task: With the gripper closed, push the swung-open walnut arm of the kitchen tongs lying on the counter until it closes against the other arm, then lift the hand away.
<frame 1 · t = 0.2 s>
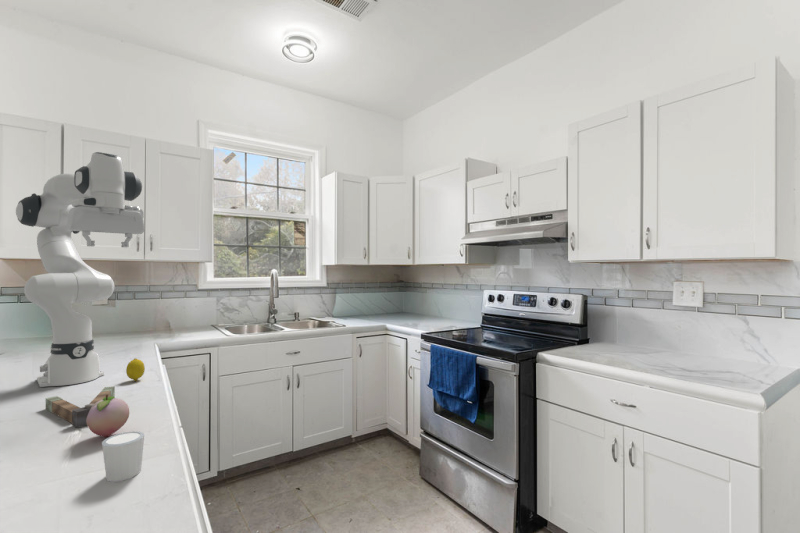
hand: (108, 246, 129), 47 cm above the counter, tool pointing down, fingers open, 8 cm apart
tongs base: (84, 419, 107), on the counter
lemon: (135, 381, 145), on the counter
tongs arm: (101, 401, 117), point 2 cm above the counter, hinge at 32.0°
shot glass: (123, 474, 78), on the counter
decorative fruit: (109, 437, 96), on the counter
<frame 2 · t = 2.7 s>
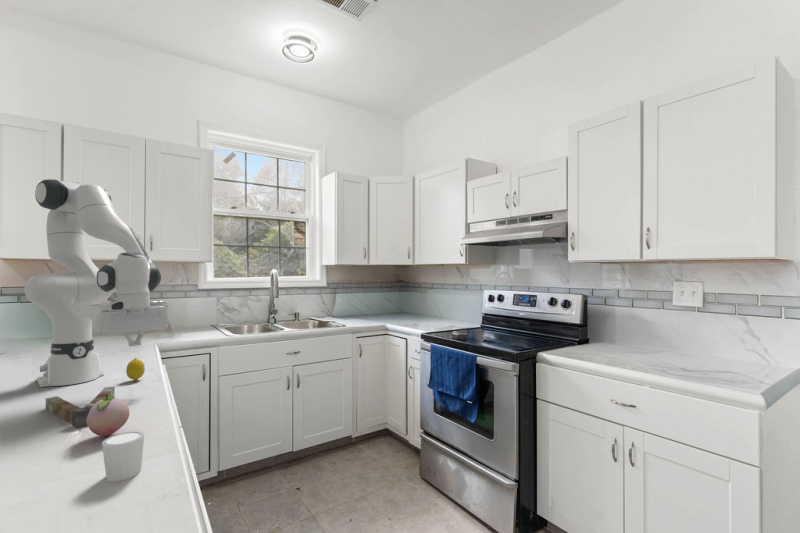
hand: (134, 345, 130), 15 cm above the counter, tool pointing down, fingers closed
nothing on the counter moved.
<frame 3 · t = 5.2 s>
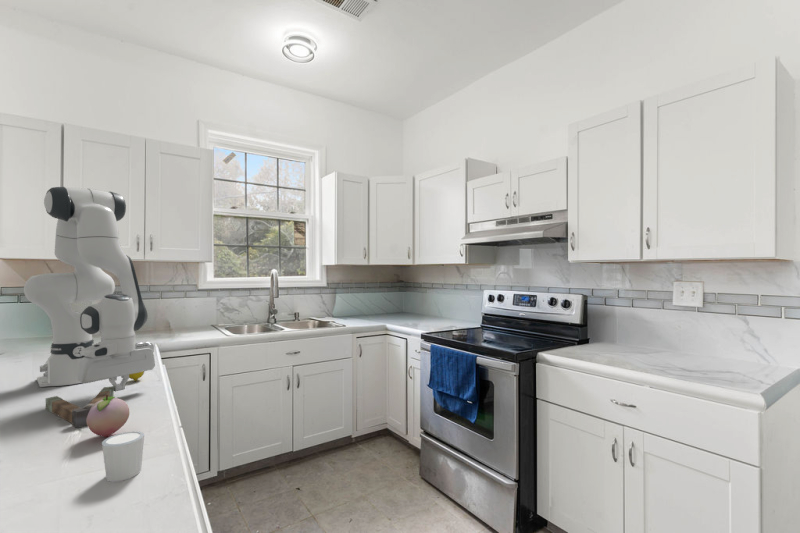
hand: (119, 390, 126), 2 cm above the counter, tool pointing down, fingers closed
tongs arm: (100, 401, 117), point 2 cm above the counter, hinge at 31.1°, touching gripper
everything else where it was.
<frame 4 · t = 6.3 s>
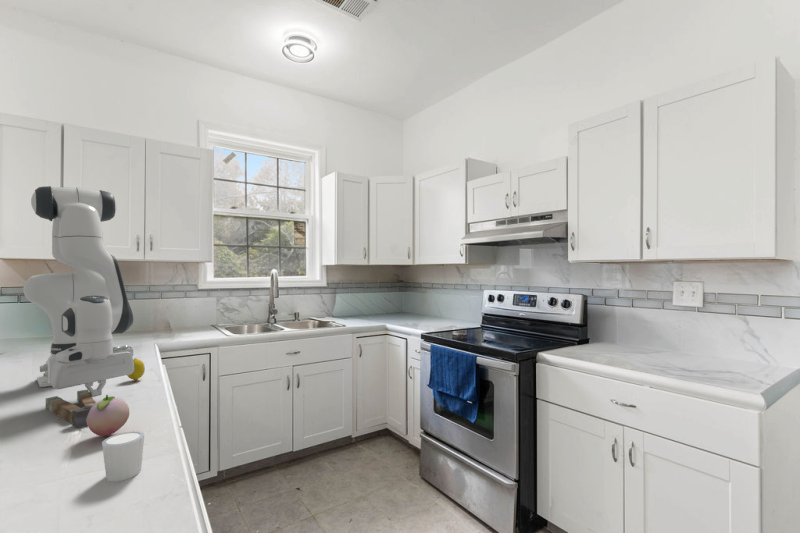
hand: (95, 396, 121), 2 cm above the counter, tool pointing down, fingers closed
tongs arm: (86, 402, 115), point 2 cm above the counter, hinge at 12.3°, touching gripper
everything else where it was.
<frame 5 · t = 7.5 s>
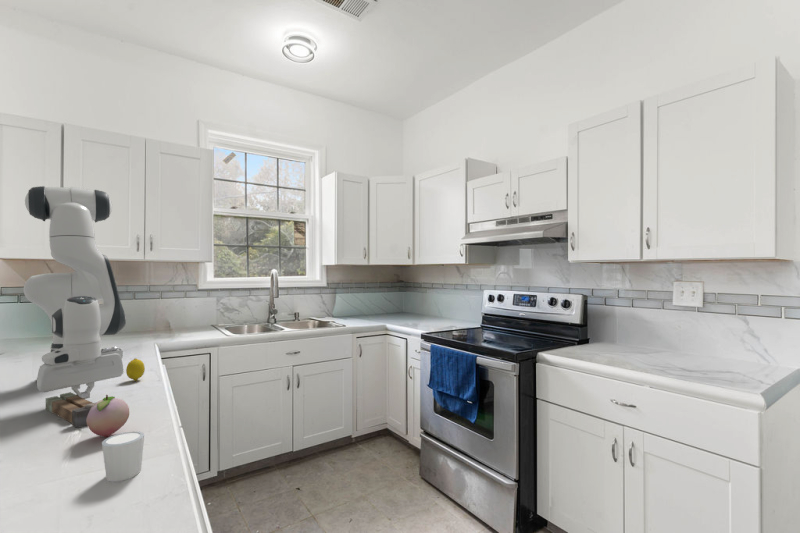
hand: (83, 398, 119), 2 cm above the counter, tool pointing down, fingers closed
tongs arm: (77, 404, 114), point 2 cm above the counter, hinge at 0.9°, touching gripper
everything else where it was.
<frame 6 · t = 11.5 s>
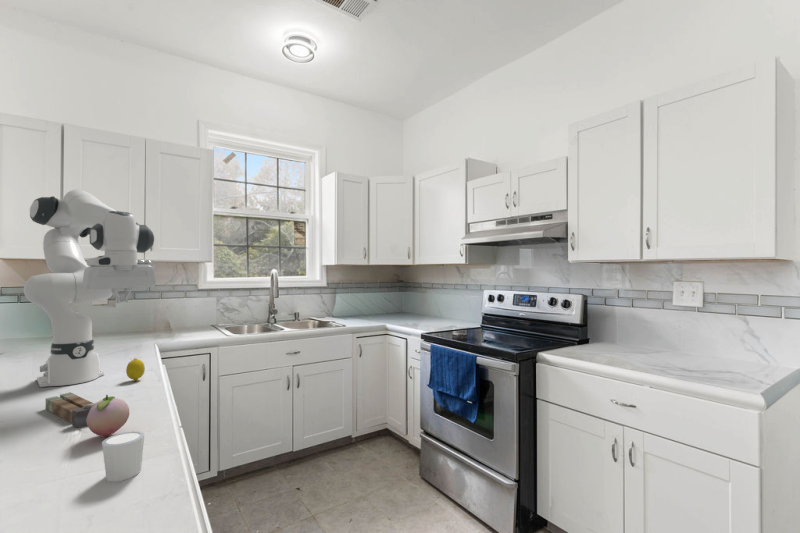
hand: (121, 302, 132), 29 cm above the counter, tool pointing down, fingers closed
tongs arm: (77, 404, 114), point 2 cm above the counter, hinge at 0.9°
everything else where it was.
at the end: tongs arm at +1° (first picture: +32°); the gripper is holding nothing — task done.
